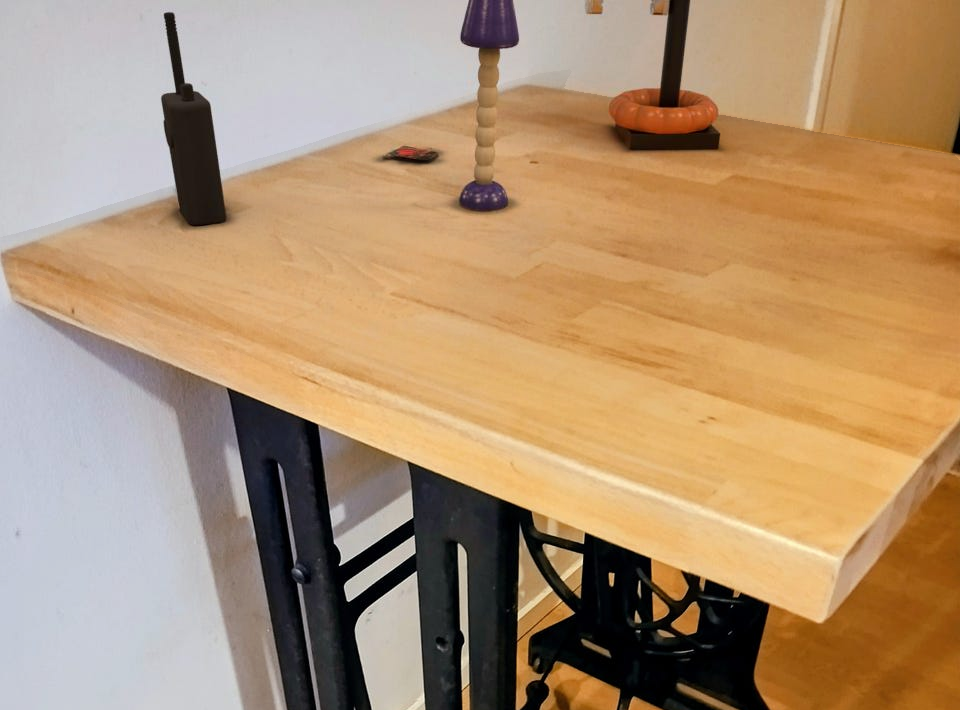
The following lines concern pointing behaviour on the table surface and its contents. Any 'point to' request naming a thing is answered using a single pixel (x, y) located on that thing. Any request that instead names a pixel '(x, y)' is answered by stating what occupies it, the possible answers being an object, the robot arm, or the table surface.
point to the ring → (662, 112)
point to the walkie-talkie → (191, 143)
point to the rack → (672, 91)
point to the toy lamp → (487, 94)
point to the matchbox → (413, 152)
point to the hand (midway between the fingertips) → (626, 14)
